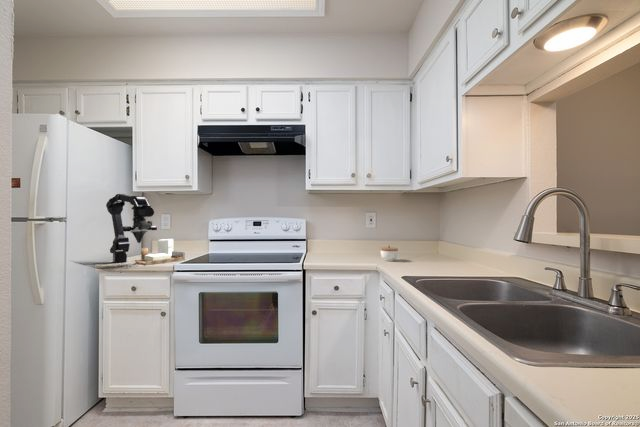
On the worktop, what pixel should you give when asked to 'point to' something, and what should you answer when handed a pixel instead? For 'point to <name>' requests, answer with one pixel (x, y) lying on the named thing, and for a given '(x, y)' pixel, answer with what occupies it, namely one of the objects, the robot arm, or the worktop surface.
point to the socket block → (156, 257)
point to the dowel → (144, 252)
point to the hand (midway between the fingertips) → (139, 242)
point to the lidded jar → (389, 253)
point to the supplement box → (165, 246)
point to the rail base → (175, 256)
